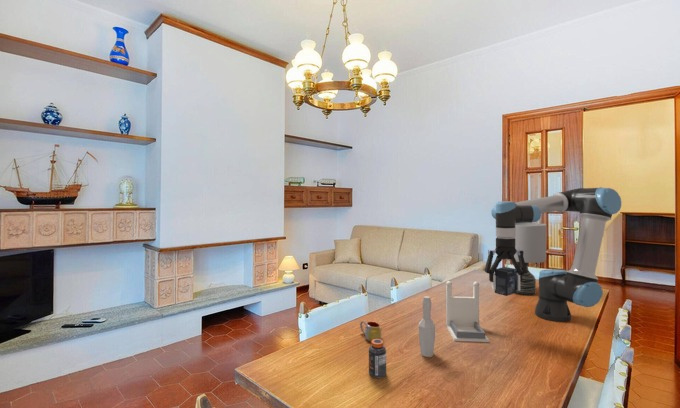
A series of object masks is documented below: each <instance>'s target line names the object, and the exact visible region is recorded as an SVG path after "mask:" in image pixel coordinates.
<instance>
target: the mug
mask: <svg viewBox="0 0 680 408" xmlns="http://www.w3.org/2000/svg"><path fill="white" fill-rule="evenodd" d="M363 325H365V327H364V328H363ZM359 326H360V330H361V331H362V333H363V334H364V335H365V338H366V340H367V341H368V342H370V343H371V341H372V340H373V339H381V340H382V341H383V338H382V334H383V333H382V328H381V326H380V323H378V322H377V321H367V322H366V321H365V320H362V321H360V324H359Z"/></svg>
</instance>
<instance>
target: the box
mask: <svg viewBox="0 0 680 408" xmlns="http://www.w3.org/2000/svg"><path fill="white" fill-rule="evenodd" d="M494 274H495V275H496V290H494V293H495V294H497V295H500V296H505V297H508V296H511V295H514V294H515V293H517V269H515V267H514V268H512V267H507V266H503V267H499V268H498V267H497V269H496V270H495V272H494Z"/></svg>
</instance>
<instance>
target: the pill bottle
mask: <svg viewBox="0 0 680 408" xmlns="http://www.w3.org/2000/svg"><path fill="white" fill-rule="evenodd" d="M370 343H371V345H370V346H369V347H368V374H369V375H370V376H371V377H373V378H375V379H379V378H380V379H381V378H384V377H386V375H387V349H386V347H385V346H384V341H383V339H382V340H381V339H373V340H372V341H371V342H370Z"/></svg>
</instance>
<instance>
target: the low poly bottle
mask: <svg viewBox="0 0 680 408" xmlns="http://www.w3.org/2000/svg"><path fill="white" fill-rule="evenodd" d="M422 298H423V299H422V318H421V320H420V321H419V322H418V340H419V341H418V342H419V349H420V355H421V356H423V357H426V358H431V357H433V356H434V351H435V350H434V349H435V342H436V323H435V322H434V321H433V319H432V318H431V316H432V315H431V310H432V300H431V297H430V296H428V295H425V296H423V297H422Z"/></svg>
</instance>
